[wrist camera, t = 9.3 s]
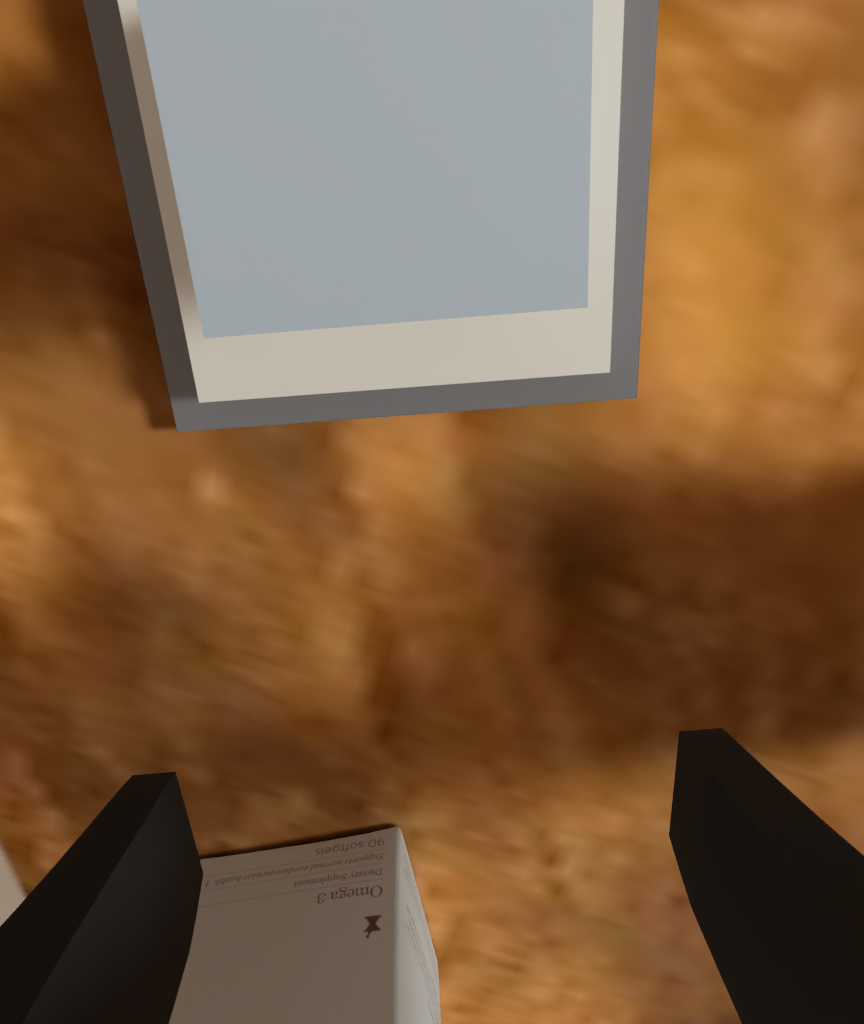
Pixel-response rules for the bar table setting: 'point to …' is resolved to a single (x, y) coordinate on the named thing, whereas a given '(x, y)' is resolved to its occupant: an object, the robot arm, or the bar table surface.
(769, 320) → the bar table surface
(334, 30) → the carton
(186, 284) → the display podium
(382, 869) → the supplement box
